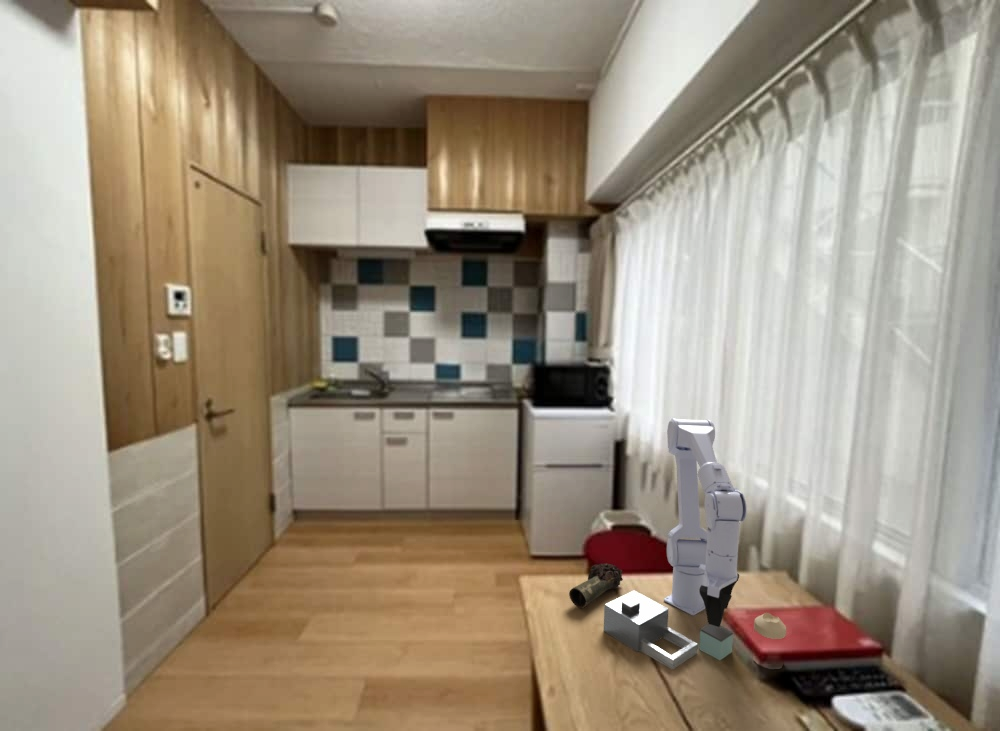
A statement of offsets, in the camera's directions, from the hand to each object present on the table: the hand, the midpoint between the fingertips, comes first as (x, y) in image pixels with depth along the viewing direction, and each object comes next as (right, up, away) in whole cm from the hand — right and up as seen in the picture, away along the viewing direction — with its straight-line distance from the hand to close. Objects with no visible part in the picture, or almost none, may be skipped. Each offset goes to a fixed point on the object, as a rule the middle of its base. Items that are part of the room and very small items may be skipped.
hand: (717, 615), depth 102 cm
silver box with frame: (-11, -7, +5) cm, 14 cm away
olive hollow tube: (-24, -9, +18) cm, 31 cm away
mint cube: (0, -8, +1) cm, 8 cm away
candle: (+9, -9, -3) cm, 13 cm away
